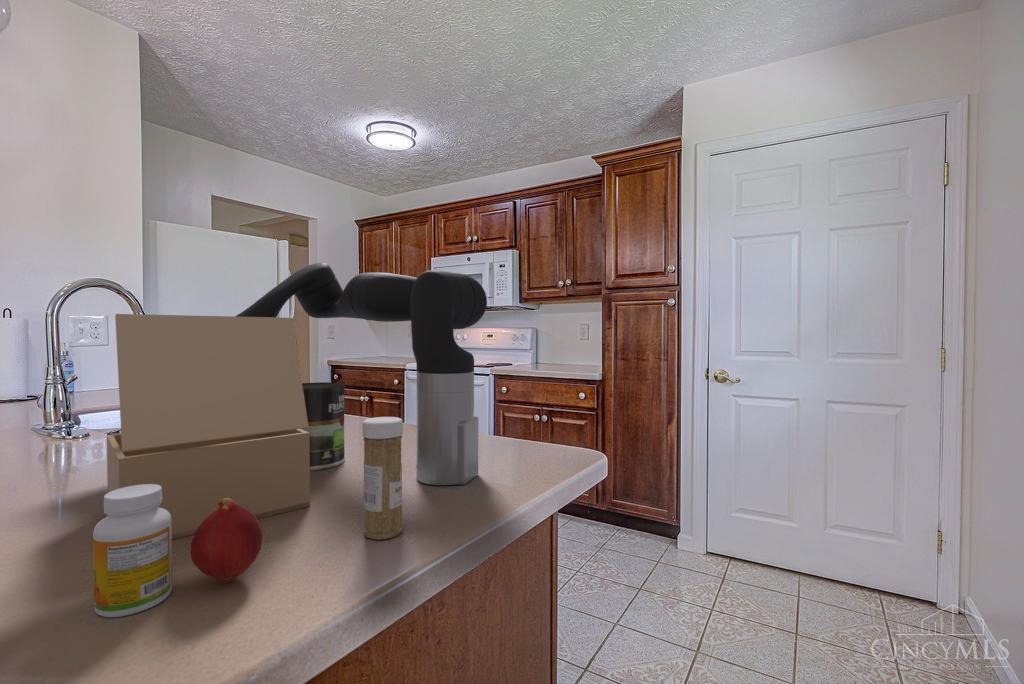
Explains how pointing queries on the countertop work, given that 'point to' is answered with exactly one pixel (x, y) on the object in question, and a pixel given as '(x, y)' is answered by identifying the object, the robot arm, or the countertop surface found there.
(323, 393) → the coffee can
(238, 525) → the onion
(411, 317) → the robot arm
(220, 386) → the carton flap
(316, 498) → the countertop surface
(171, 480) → the carton
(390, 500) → the sprinkles bottle
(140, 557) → the supplement bottle
